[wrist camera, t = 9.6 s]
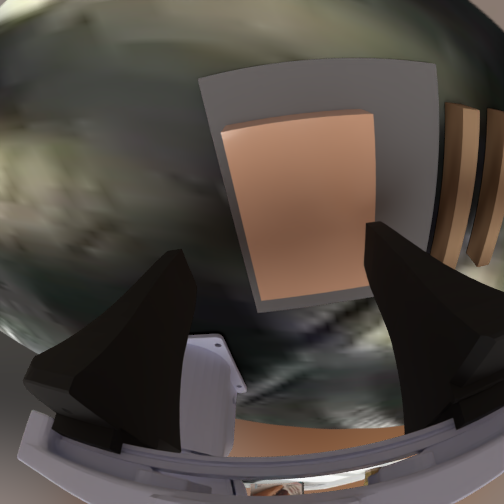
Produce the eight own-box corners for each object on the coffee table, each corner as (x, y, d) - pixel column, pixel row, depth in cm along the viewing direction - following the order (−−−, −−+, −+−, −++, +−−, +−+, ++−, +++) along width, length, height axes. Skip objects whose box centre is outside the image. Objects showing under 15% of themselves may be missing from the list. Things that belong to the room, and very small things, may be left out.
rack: (477, 250, 15) (488, 264, 14) (428, 259, 16) (439, 275, 14) (499, 110, 9) (517, 117, 8) (444, 102, 10) (462, 108, 8)
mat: (415, 284, 17) (417, 288, 16) (257, 308, 18) (257, 313, 18) (431, 63, 9) (435, 64, 8) (199, 78, 10) (197, 78, 10)
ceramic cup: (356, 473, 78) (358, 493, 70) (374, 467, 73) (377, 489, 64) (376, 470, 81) (378, 489, 73) (394, 463, 76) (396, 484, 68)
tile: (369, 285, 14) (261, 300, 15) (362, 268, 16) (261, 282, 16) (373, 114, 9) (220, 132, 10) (360, 108, 10) (225, 125, 11)
